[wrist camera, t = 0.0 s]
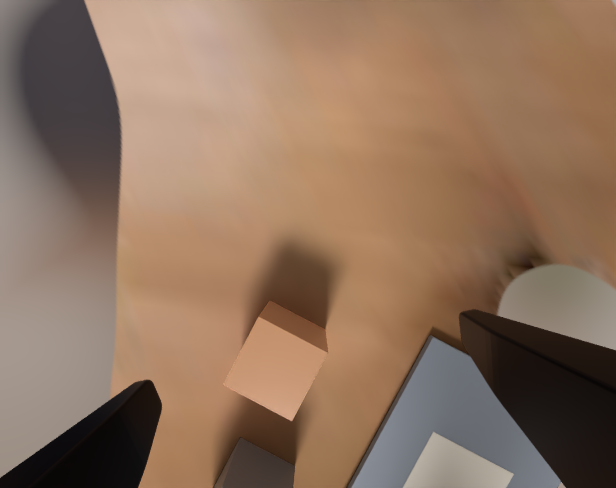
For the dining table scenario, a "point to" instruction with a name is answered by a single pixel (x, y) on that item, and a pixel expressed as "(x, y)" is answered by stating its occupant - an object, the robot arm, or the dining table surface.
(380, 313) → the dining table surface
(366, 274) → the dining table surface
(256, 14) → the dining table surface
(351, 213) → the dining table surface
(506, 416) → the board
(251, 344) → the terracotta cube
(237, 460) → the charcoal cube
